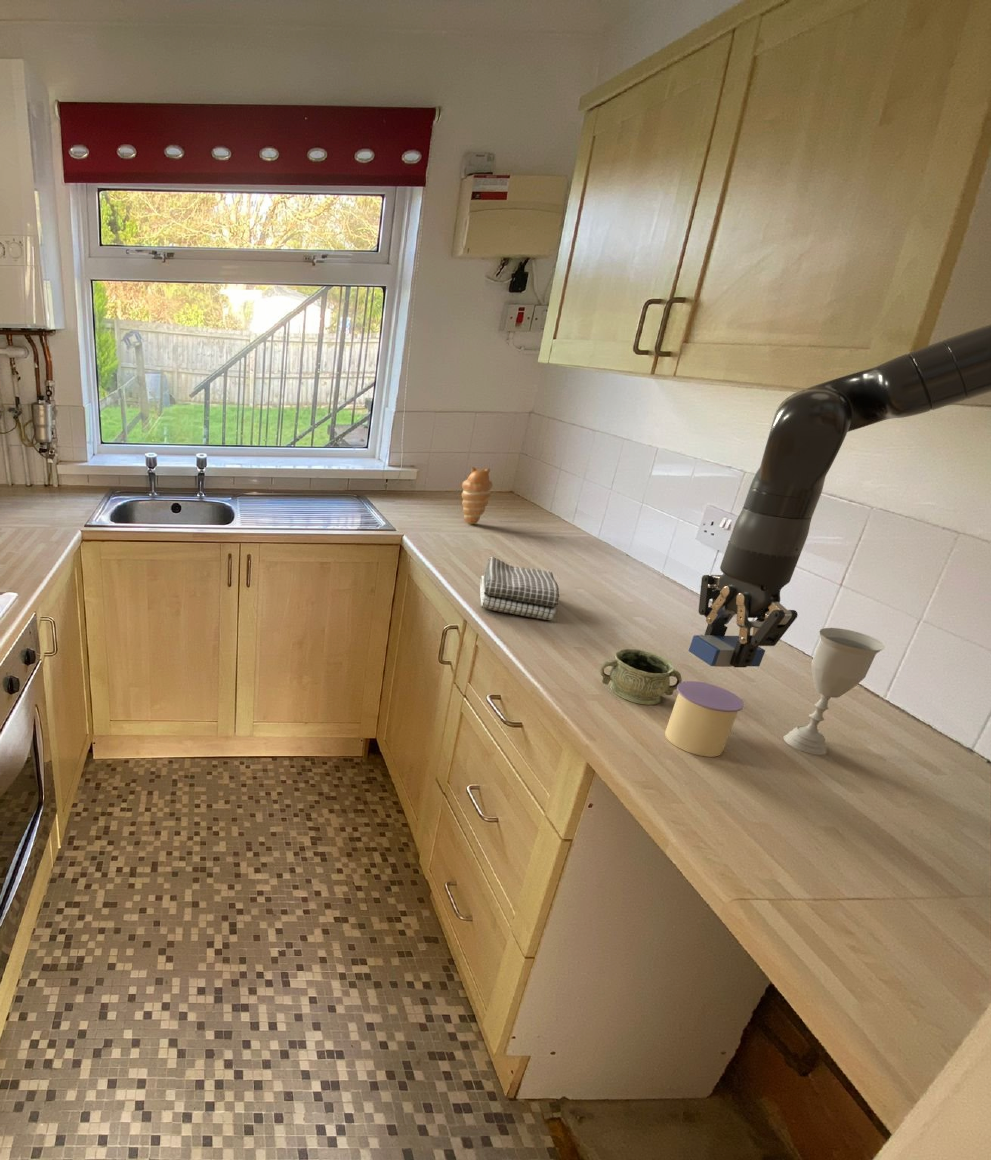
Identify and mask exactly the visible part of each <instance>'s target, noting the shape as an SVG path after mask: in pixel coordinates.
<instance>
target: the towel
mask: <svg viewBox="0 0 991 1160" xmlns="http://www.w3.org/2000/svg"><path fill="white" fill-rule="evenodd" d="M554 577H555V576H554V573H553V572H552V571H549V570H541V569H536V568H529V567H526V568H525V567H521V566H512V565H509V564H507V563H506V562H504V561H503V560H500V559H499V558H496V557H494V556H491V557H489V558H488V559H487V563H486V567H485V570H484V574H482V575H481V576H480V580H479V585H478V586H479V598H480V599H479V600H480V606H481V608H482V609H485V610H489V611H494V612H498V613H504V614H512V615H516V616H522V617H527V618H531V619H532V618H533V619H537V620H547V621H553V620H554V616H555V614H556V608H557V607H558V605H559V597H560V591H559V590H560V589H559V585H558V583H557V580H555V578H554Z"/></svg>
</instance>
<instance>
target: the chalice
mask: <svg viewBox="0 0 991 1160" xmlns="http://www.w3.org/2000/svg"><path fill="white" fill-rule="evenodd" d="M819 636H820V641H819V643H818V646H817V647H816V650H815V653H814V656H813V658H812V660H811V676H812V681H813V685H814V689H815V692H817V693H818V694H820V699H818V701H817V702H815V703H814V708H815V710H814V711H813V712H812V713H809V714H808V717H809V718H810V721H809V723H808V724H807V725H799V726H796V727H793V728H792V729H791V730H790V731H788V733H786V734H785V735H783V737H782V739H783V740H784V742H785V743H786V744H787V745H789V746H791V747H792V748H794V749H796V750H798V751H801V752H804V753H807V754H810V755H818V756H820V755H825V754H827V752H828V751H827V747H826V746H827V743H826V738H825V736H824V734H823V733H822V732H821V731H820V730H819V729H818V725H819V724H820V723H821V722H823V721H825V718H824V713H825V712H826V711H827V710H829V707H828V706H829V705H828V703H829V701H830V699H832V698H833V699H837V698H840V697H842V696H843V695H845V694H846V693H848V692H849V691H851V690H852V689H854V688H855V687H857V685H858V684H860V683H861V682H862V681H863V680H864V679H865V678H866V676H867V674H868V673H869V670H870V668H871V665H872V664H873V661H874V660H875V657H876V655H877V654H879V653H880V652H881V651H882V650H884V649H885V646H886V645H885V644H884V643H883V642H882V641H880V640H879V639H877V638H875V637H873V636H871V635H868V634H865V633H862V632H858V631H855V630H850V629H844V628H841V627H839V628H838V627H824V628H821V629H820V630H819Z"/></svg>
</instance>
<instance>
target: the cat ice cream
mask: <svg viewBox="0 0 991 1160" xmlns="http://www.w3.org/2000/svg"><path fill="white" fill-rule="evenodd" d="M470 471H471V473H470V474H469V475H468V477H467V479H465V480H463V481H462V483H461V488H462V490H463V491H462V492H461V498H462V502H461V506H462V507H463V508H462V513H463V515H464V516H463V519H464V521H465V523H467V524H469V525H475V524H477V523H478V522H479V521H480V519H481V515H483V514H484V513H485V511H486V507H487V506H488V504H489V499H490V498H491V495H492V494H491V493H492V492H491V491H492V489H493V485H494V484H493V482H492V481H491V480H490V475H489V474H490V471H491V468H485V469H484V470H483V469H476V468H475V467H474V466H472V467H471V469H470Z"/></svg>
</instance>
